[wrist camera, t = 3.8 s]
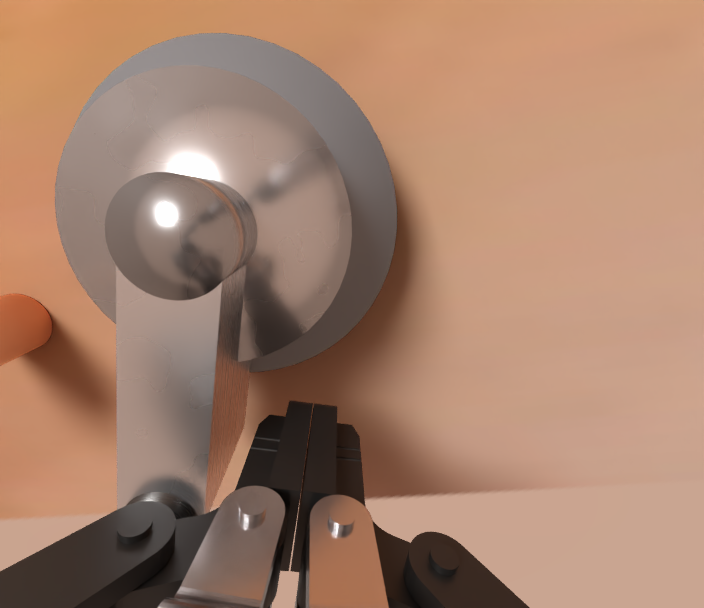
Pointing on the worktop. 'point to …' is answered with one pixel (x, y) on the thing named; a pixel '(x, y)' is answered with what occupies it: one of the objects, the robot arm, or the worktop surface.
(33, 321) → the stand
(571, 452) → the worktop surface
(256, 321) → the dial
